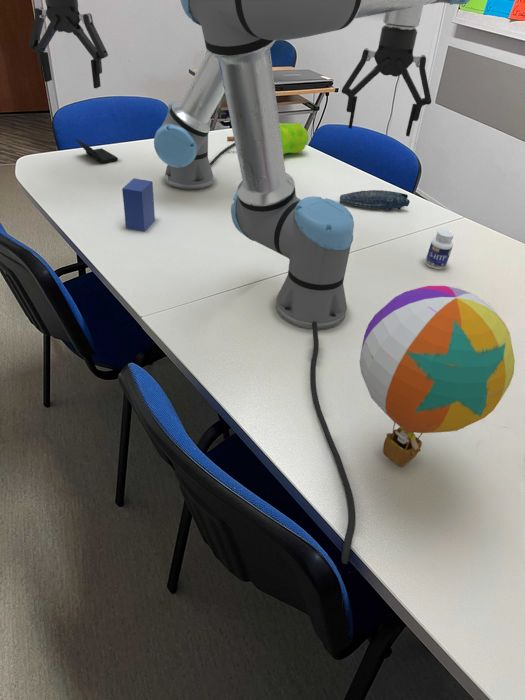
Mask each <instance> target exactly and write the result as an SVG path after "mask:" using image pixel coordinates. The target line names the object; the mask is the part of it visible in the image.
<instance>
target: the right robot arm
mask: <svg viewBox="0 0 525 700" xmlns="http://www.w3.org/2000/svg"><path fill="white" fill-rule="evenodd" d="M470 1H471V0H180V4H181V7H182V9H183V12H184V13H185V15H186V16H187V17H188V19H190V20H191V22H193V23H195V24H196V25H197V26H201V30H202V31H201V32H202V35H203V40H204V44H205V49H206V52H207V51H208V52H209V53H210V54H211V55H213V56H214V57H216V58H217V59H218V61H219V66H220V71H221V76H222V81H223V86H224V91H225V93H224V95H225V100H226V105H227V109H228V115H229V120H230V125H231V130H232V135H233V137H234V140H235V141H234V143H235V145H234V146H235V149H236V155H237V159H238V164H239V170H240V174H241V175H240V176H241V179H242V180H241V181H240V182H239V185H238V186H237V190H236V191H235V193H234V195H233V198H232V200H233V203H231V206H230V216H231V221H232V223H233V226H234V227H235V228H236V230H237V231H238V232H239V233H240V234H242V235H243V236H245V237H246V238H247V239H248V240H250V241H252V242H256V243H258V245H259V244H260V245H262V246H263V247H264V248H265V247H266V248H268V249H270V250H272V251H273V252H275V253H278V254H280V255H281V256H283V257H285V258H287V259H288V260H289V262H288V263H289V264H288V270H287V271H288V272H287V275H286V278H285V279H284V282H283V283H282V285H281V287H280V290H279V291H278V294H277V296H276V300H275V311H276V313H277V315H278V316H279V317H280V318H281V319H282V320H283V321H284V322H286V323H287V324H289V325H291V326H293V327H296V328H300V329H304V330H310V331H312V339H313V347H312V355H311V361H310V369H309V370H310V371H309V373H310V374H309V381H310V382H309V383H310V392H311V397H312V403H313V406H314V407H313V408H314V410H315V413H316V416H317V418H318V421H319V424H320V426H321V429H322V432H323V435H324V437H325V440H326V442H327V445H328V447H329V450H330V452H331V455H332V457H333V460H334V462H335V465H336V467H337V471H338V474H339V477H340V481H341V483H342V486H343V490H344V493H345V498H346V503H347V514H348V518H347V519H348V520H347V526H346V531H345V536H344V540H343V545H342V551H341V557H340V561H341V563H342V564H344V565H347V564H348V563H349V561H350V553H351V547H352V542H353V538H354V534H355V529H356V506H355V505H356V504H355V500H354V499H355V498H354V496H353V491H352V487H351V485H350V481H349V478H348V476H347V473H346V469H345V467H344V466H345V465H344V464H343V460H342V459H341V456H340V453H339V451H338V449H337V446H336V443H335V442H334V439H333V437H332V434H331V431H330V429H329V426H328V424H327V421H326V419H325V416H324V413H323V411H322V408H321V405H320V400H319V395H318V390H317V379H316V377H317V376H316V375H317V372H316V371H317V360H318V355H319V346H320V345H319V341H320V340H319V331H324V330H325V331H326V330H329V329H333V328H336V327H337V326H339V325H340V324H342V323H343V322H344V320H345V318H346V315H347V310H348V305H347V297H346V292H345V286H344V280H345V275H346V271H347V267H348V262H349V257H350V253H351V252H350V251H351V247H352V244H353V242H354V231H355V229H354V228H355V220H354V216H353V215H352V213H351V211H350V210H349V209H348V208H347V207H345V205H343V204H342V203H341V202H338V201H336V200H333V199H331V198H327V197H326V198H322V197H321V196H307V197H304V198H302V199H300V198H298V196H297V193H296V185H295V180H294V178H293V177H292V175H290V174H289V173H287V171H286V166H285V165H286V164H285V160H284V159H285V157H284V154H283V149H282V141H281V133H280V125H279V123H280V117H279V110H278V102H277V93H276V86H275V78H274V69H273V61H272V54H271V48H272V47H273V45H274V44H275V42H276V41H291V40H296V39H302V38H308V37H313V36H318V35H323V34H326V33H331V32H336V31H341V30H343V29H345V28H347V27H348V26H350V25H351V24H352V23H353V21H354V20H355V19H360V18H364V17H365V18H366V17H371V16H376V15H381V14H383V21H382V22H383V23H384V24H385V25H383V26H382V27H381V31H380V36H379V41H378V47H377V49H376V51H374V50H371V49H369V48H368V47H365V48H364V49H363V51H362V54H361V57H360V60H359V61H358V63H357V65H356V66H355V68H354V69H353V71H352V72H351V74H350V76H349V77H348V78H347V80H346V82H345V83H344V84H343V86H342V89H341V93H342V94H343V95H346V96H347V104H346V113H350V116H349V122H348V127H347V128H348V129H351V130H352V128H353V124H354V117H355V113H356V107H357V101H358V96H357V94H358V93H359V92H360V91H361V90H362V89H363V88H365V87H366V86H367V85H368V84H369V83H370V82H371V81H372V80H373V79H374V78H375V77H376V76H378V75H379V74H381V75H383V76H392V77H395V78H397V77H400V76H402V79H403V80H404V82H405V85H406V86H407V88H408V90H409V92H410V94H411V96H412V98H413V99H414V102H415V103H412V105H411V110H410V113H409V114H410V115H409V119H408V123H407V127H406V131H405V135H406V137H410V135H411V131H412V127H413V124H414V122H418V120H419V119H420V115H421V111H422V108H423V106H426V105H431V104H432V97H431V96H432V95H431V92H430V87H429V82H428V77H427V72H426V64H427V57H426V55H425V54H421V55H414V48H415V46H416V45H415V44H416V40H417V35H418V30H417V29H416V28H417V27H419V26H420V23H421V18H422V13H423V9H424V6H426V5H433V4H438V3H444V4H449V5H450V6H452V5H461V6H462V5H466V4H468V3H469V2H470ZM373 58H374V61H375V63H376V65H375V66H374V67H373V68H372V69H371V70H370V71H369V72H368V73H367V74H366V75H365V76H364V77H363V78H362V79H361V80H360V81H359V82H358V83H357V84H356V85H355V86H354V87H352V85H353V83H354V82H355V80H356V78H357V77H358V75H359V74H360V72H362V69H363V68H364V66H365V65H366V63H367V62H370V61H371V60H372V59H373ZM413 63H414V64H415V68H418V71H419V76H420V80H421V86H422V90H423V95H424V97H421V94H420V92H419V91H418V88H417V87H416V85H415V83H414V81H413V78H412V77H411V74H410V73H409V71H408V69H409V67H410V66H411V65H412V64H413ZM351 87H352V88H351Z"/></svg>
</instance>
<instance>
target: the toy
mask: <svg viewBox="0 0 525 700" xmlns="http://www.w3.org/2000/svg"><path fill="white" fill-rule="evenodd" d="M360 349H361V350H360V354H359V355H360V357H359V368H360V374H361V376H362V379H363V381H364V384H365V387H366V389H367V390H368V393H369V397H370V398H371V399H372V401H373V402H374V403H375V404H376V405H377V406H378V407H379V408H380V409H381V410H382V412H384V414H385V415H386V416H387V417H388V418H389V419H390V420H391V421H392V422H393V426H392V427H393V428H392V432H391V433H390V432H389V433H387V434H386V435H385V436H386V437H385V439H384V442H383V447H382V453H383V455H384V456H385V457H386V458H387V459H389V460H390V461H391V462H392V463H394V464H395V465H396V466H398V467H399V468H403V467H404V466H406V465H407V464H408V463H410V461H412V460H413V459H414V458H415V457H416V456H417V455H418V454H419V453H420V452H421V451H422V449H421V447H422V445H423V442H422V440H421V439H420V438H421V436H422V435H423V434H433V433H447V432H448V433H449V432H456V431H459V430H461V429H464V428H466V427H468V426H470V425H473V424H475V423H477V422H479V421H481V420H483V419H485V418H486V417H488V416H489V415H490V414H491V413H492V412H494V411H495V408H497V406H498V404H499V403H500V401H501V400H502V398H503V396H504V395H505V393H506V392H507V390H508V389H509V387H510V386H511V382H512V381H513V380H512V379H513V377H514V373H515V362H516V359H515V353H514V348H513V343H512V337H511V332H510V331H509V327H507V325H506V323H505V321H504V320H503V319H502V317H501V316H500V315H499V314H498V312H497V311H496V310H495V309H494V308H493V307H492V306H491V305H490V304H489V303H488V302H487V301H485V300H484V299H482V298H481V297H479V296H478V295H477V294H474V293H472V292H469V291H466V290H463V289H461V288H458V287H453V286H448V285H425V286H421V287H417V288H413V289H409V290H407V291H404V292H402V293H400V294H398V295H396V296H394V297H393V298H392V299H391V300H390V301H389V302H388V303H386V304H385V305H384V306H383V307H382V308H381V309H380V310H379V311H377V312H376V313H375V314H374V316H373V317H372V318H371V320H370V321H369V323H368V325H367V327H366V329H365V333H364V335H363V340H362V345H361V348H360ZM396 425H397V426H398V428H397V429H395V426H396ZM415 433H416V434H417V433H418V434H419V436H418V437H417V436H416V434H415Z"/></svg>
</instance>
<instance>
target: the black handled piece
mask: <svg viewBox="0 0 525 700" xmlns="http://www.w3.org/2000/svg"><path fill="white" fill-rule="evenodd" d="M75 141H76V142H77V144H79V146H81V148H82V149H83V150H84V151H85V154H86V155H88V156H89V157H91V158H93V159H94V160H96V161H98V162H99V163H101V164H107V163H111V162H115V161H116V162H117V161H118V160H119V158H118V157H117V155H116V156H115V155H114V154H112V153H111V152H109V151H107V150H106V149H103V148H102V147H101V148H96V149H93V148H92V147H91V146H90V145H88V144H85V143H84V142H83V141H81V140H79V139H77V138H75Z"/></svg>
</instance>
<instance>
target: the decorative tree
mask: <svg viewBox="0 0 525 700" xmlns="http://www.w3.org/2000/svg"><path fill="white" fill-rule="evenodd" d="M279 125H280V133H281V141H282V149H283V155H285V154H298V153H301V152H302V151H304V150H305V148H306V146H307V145H308V143H309V142H308V141H309V132H308V131H307V128H305V127H304V126H303V125H302V124H301V123H298V122H296V123H295V122H293V123H291V122H289V123H288V122H285V123H282V122H279ZM226 138H227V139H226V142H235V140H234V136H227V137H226Z"/></svg>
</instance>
